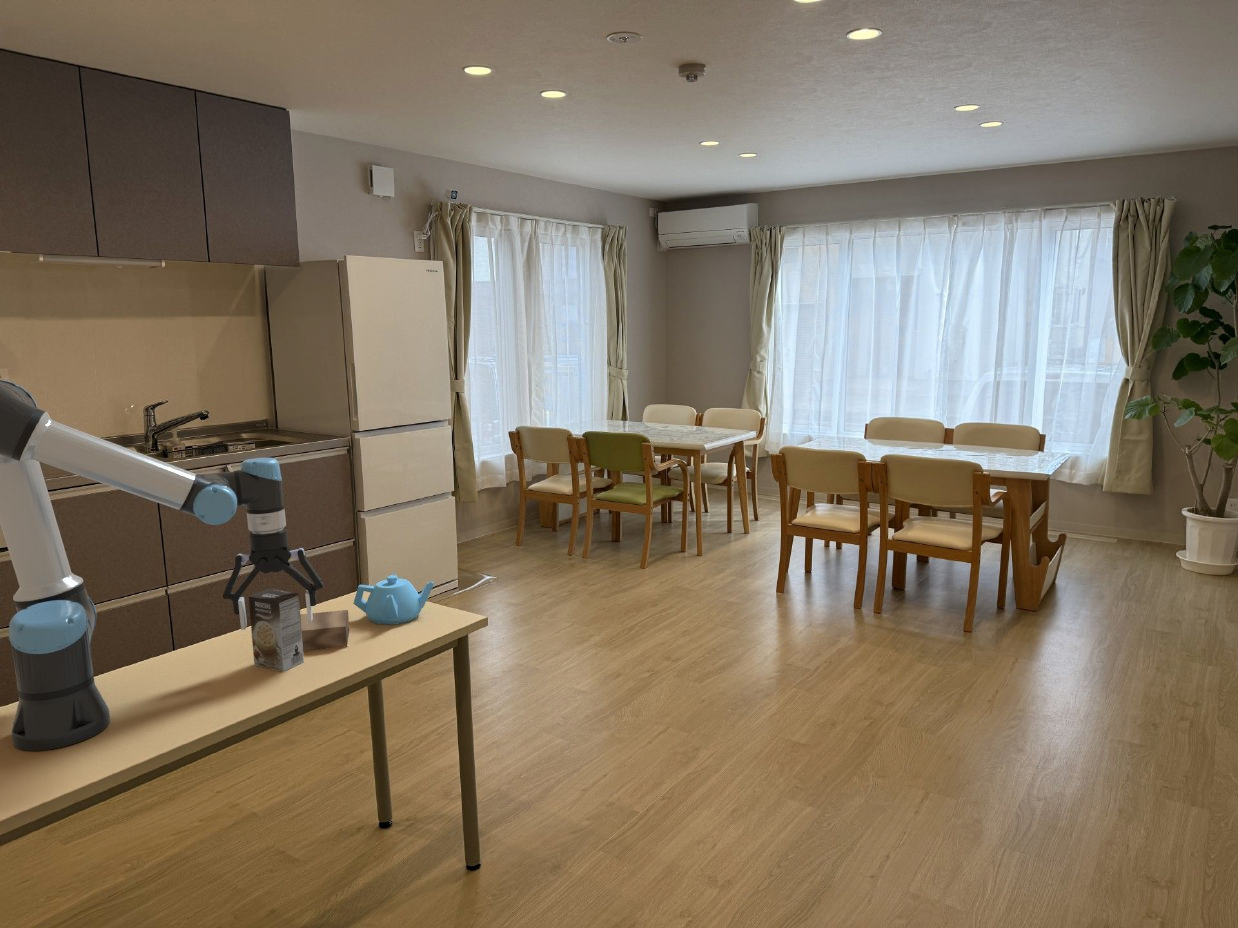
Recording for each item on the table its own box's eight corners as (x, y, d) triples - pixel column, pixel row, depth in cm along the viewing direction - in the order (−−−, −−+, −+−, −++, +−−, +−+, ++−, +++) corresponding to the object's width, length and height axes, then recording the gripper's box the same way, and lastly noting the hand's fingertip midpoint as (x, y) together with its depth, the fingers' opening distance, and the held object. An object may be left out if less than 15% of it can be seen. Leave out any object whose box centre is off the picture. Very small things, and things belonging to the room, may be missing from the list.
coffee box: (252, 666, 185) (246, 595, 182) (275, 655, 191) (269, 587, 188) (283, 672, 181) (277, 600, 178) (306, 661, 187) (300, 592, 184)
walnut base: (292, 652, 192) (290, 631, 191) (297, 634, 203) (295, 614, 203) (347, 646, 195) (345, 626, 194) (349, 629, 207) (348, 609, 206)
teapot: (398, 603, 226) (395, 564, 224) (437, 613, 217) (435, 572, 216) (351, 620, 213) (348, 579, 212) (391, 631, 205) (388, 588, 203)
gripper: (200, 539, 174) (212, 637, 178) (327, 528, 180) (336, 622, 184) (208, 531, 181) (219, 625, 185) (329, 520, 188) (338, 611, 191)
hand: (277, 624), depth 184 cm, fingers open, 13 cm apart
